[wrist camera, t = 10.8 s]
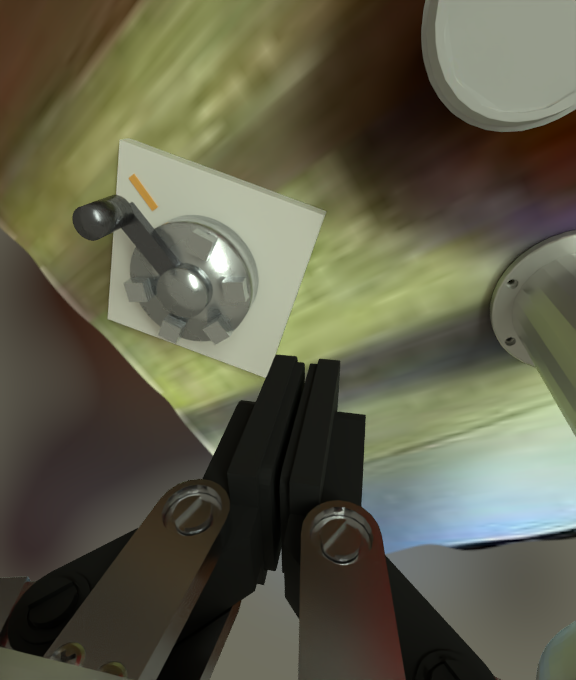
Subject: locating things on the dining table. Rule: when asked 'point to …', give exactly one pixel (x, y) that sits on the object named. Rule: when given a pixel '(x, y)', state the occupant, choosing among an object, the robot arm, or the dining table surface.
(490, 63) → the disposable coffee cup
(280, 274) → the base plate
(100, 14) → the dining table surface
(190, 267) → the silver lever knob
